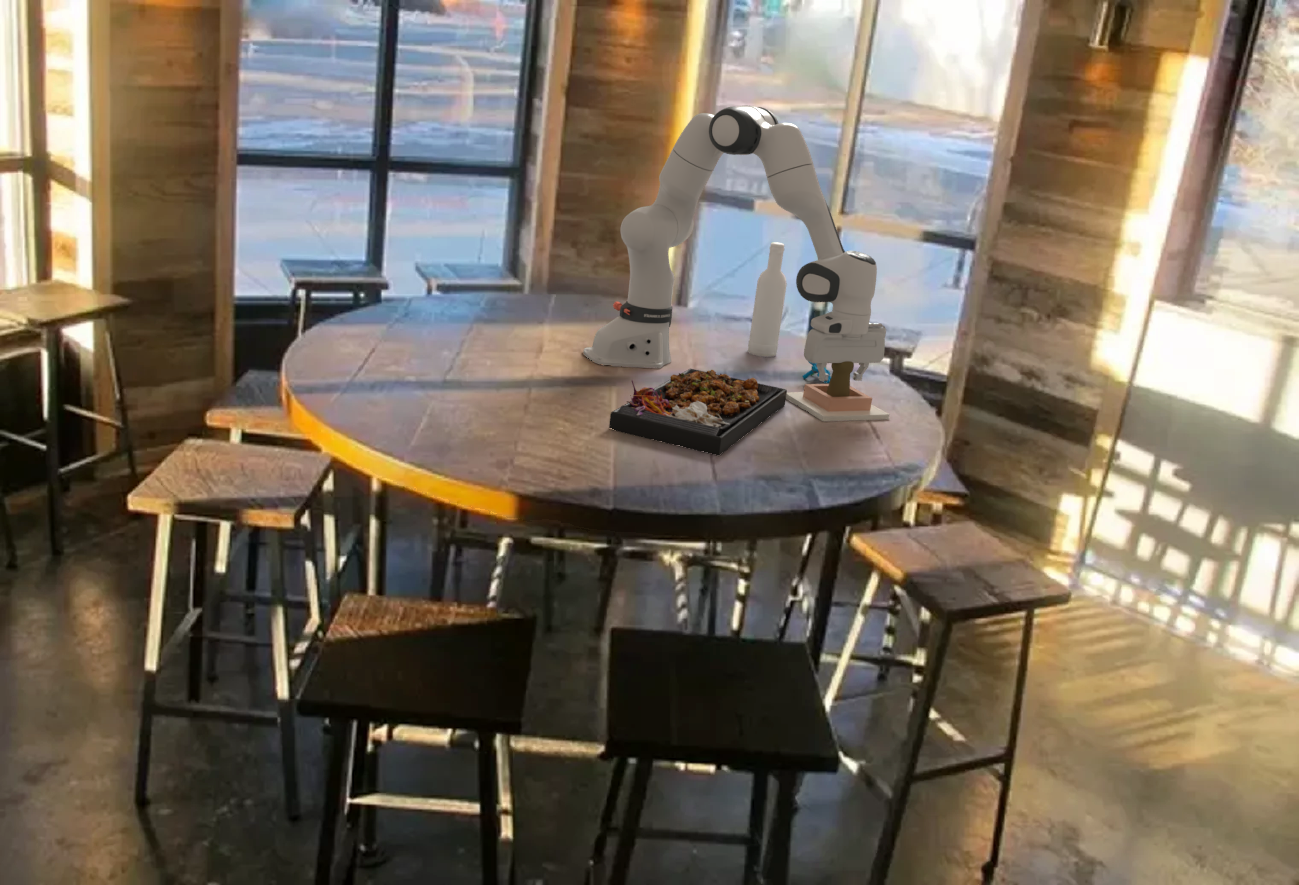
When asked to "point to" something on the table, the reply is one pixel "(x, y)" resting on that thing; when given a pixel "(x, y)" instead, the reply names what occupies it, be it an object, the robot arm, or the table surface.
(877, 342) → the robot arm
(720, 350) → the table surface
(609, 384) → the table surface
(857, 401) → the holder
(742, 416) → the food platter
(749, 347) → the bottle
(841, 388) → the cork
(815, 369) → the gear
